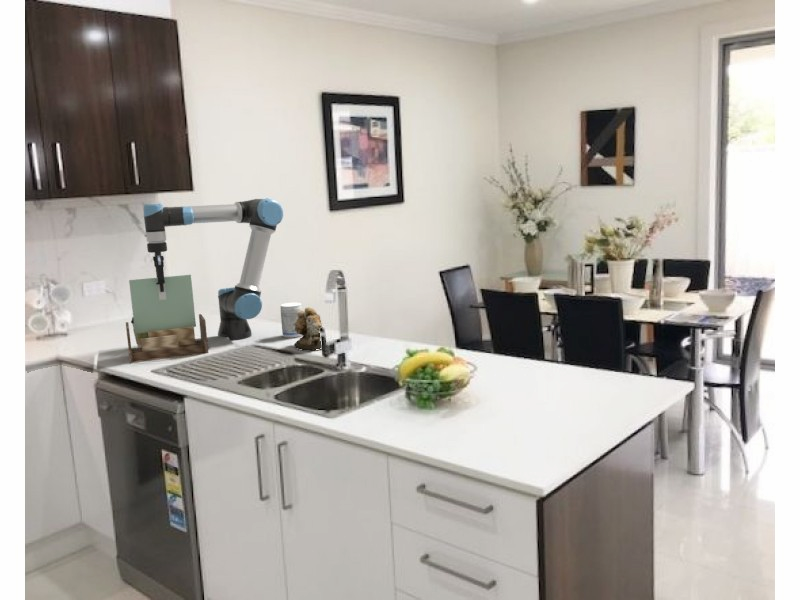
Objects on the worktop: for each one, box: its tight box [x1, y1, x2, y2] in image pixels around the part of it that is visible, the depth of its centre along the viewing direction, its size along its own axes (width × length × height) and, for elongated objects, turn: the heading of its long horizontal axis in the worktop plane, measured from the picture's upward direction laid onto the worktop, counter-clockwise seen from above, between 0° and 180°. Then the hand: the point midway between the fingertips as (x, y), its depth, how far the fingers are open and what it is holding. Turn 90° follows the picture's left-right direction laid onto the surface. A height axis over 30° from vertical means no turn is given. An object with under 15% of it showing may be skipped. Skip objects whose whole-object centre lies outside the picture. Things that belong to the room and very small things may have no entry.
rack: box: [125, 314, 209, 364], centre depth 281 cm, size 30×14×16 cm, turn 112°
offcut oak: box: [148, 327, 196, 346], centre depth 284 cm, size 18×1×10 cm, turn 112°
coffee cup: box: [130, 317, 149, 348], centre depth 296 cm, size 10×10×15 cm
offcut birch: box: [141, 335, 179, 352], centre depth 279 cm, size 14×1×8 cm, turn 112°
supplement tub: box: [279, 302, 303, 339], centre depth 313 cm, size 10×10×15 cm
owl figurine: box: [293, 306, 323, 351], centre depth 290 cm, size 18×12×17 cm, turn 41°
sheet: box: [128, 274, 197, 334], centre depth 283 cm, size 24×1×22 cm, turn 112°
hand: (162, 299), depth 283 cm, fingers closed on sheet
